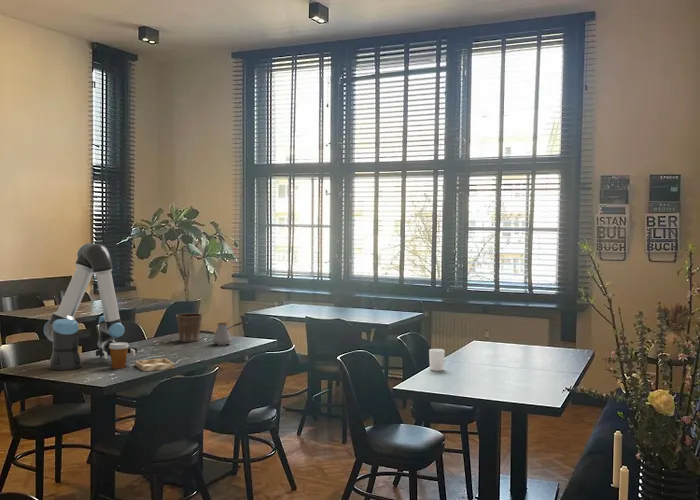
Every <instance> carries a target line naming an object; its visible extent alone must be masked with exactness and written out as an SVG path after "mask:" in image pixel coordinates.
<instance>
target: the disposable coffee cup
mask: <svg viewBox="0 0 700 500" xmlns="http://www.w3.org/2000/svg"><path fill="white" fill-rule="evenodd" d="M128 347H130V345H129V343H128V342H126V341H125V342H124V341H123V342H122V341H119V342H116V341H115V343H110V345H109V348H110V355H111V356H110V363H111V368H112V369H114V370H115V369H116V370H117V369H118V370H120V369H125V368H126V364H127V357H128V353H127V351H128Z"/></svg>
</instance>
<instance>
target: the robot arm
mask: <svg viewBox="0 0 700 500" xmlns="http://www.w3.org/2000/svg"><path fill="white" fill-rule="evenodd" d="M76 255H77V259H76V261H75V263H74V265H75V266H76V268H75V271H74V273H73V275H72V277H71V280H70V281H69V284H68V286H67V289H66V291H65V293H64V295H63V297H62V300H61V302H60V304H59V306H58V308H57V310H56V311H54V312H52V314H51V317H50V319H48V320H47V322H45V324H44V326H43V334H44V336H45V337H46V339H47V340H48V341H50V342H52V354H51V357H50V359H49V363H48V369H49V370H53V371H70V370H75V369H79V368H81V367H83V361H82V359H81V356H80V352H79V323H78V321H77V320H76V318H75V316H76V313H77V311H78V308H79V307H80V304H81V302H82V300H83V297H84V295H85V293H86V291H87V289H88V286H89V284H90V282H91V278H92V276H93V275H95V276H96V283H97V288H98V293H99V298H100V302H101V303H100V304H101V309H102V313H103V315H101V316H99V318H98V340H97V347H98V349H97V350H96V351H95V357H99V359H100V358H103V359H105V360H106V359H108V356H109V357H111V355H110V348H109V345H110V343H115V342H116V341H115V338H120V337H122V336H123V335H124V334H125V330H126V329H125V326H124V325H123V324H122V322H121V317H120V311H119V306H118V301H117V296H116V291H115V286H114V280H113V274H112V271H113V263H112V259H111V254H110V251H109V250H108V248H107V247H106V246H104V245H103V244H100V243H94V242H93V243H92V242H90V243H85V244H84V245H81V247H80V248H79V249H78V251H77V254H76ZM127 354H130V355H131V356H133V357H136V354H138V347H134V346H133V347H131V346H129V347H128V351H127Z"/></svg>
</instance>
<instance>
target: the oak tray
mask: <svg viewBox="0 0 700 500" xmlns="http://www.w3.org/2000/svg"><path fill="white" fill-rule="evenodd" d="M134 366H135V367H136V368H138V369H139V370H140V371H142V372H149V371H150V372H151V371H160V370H161V371H162V370H171V369H175V367H176V364H175V362H173V361H171V360H170V359H167V357H166V358H165V357H164V358H154V359H152V358H151V359H145V360H144V359H142V360H135V361H134Z"/></svg>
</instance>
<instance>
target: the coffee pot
mask: <svg viewBox="0 0 700 500" xmlns="http://www.w3.org/2000/svg"><path fill="white" fill-rule="evenodd" d="M244 323H245V324H248V321H247V320H244V321H241V322H237V323H235V324H233V325H231V326H228V325H229V324H228V322H216V325H217V328H216V331H215V332H214V336H213V338H212V343H213V344H215V345H216V344H217V345H216V346H226V345H225V344H228V345H230V344H231V342H232V340H233V339H232V337H231V334H230V332H229V329H232V328H234V327H237V326H240V325H242V324H244Z"/></svg>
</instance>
